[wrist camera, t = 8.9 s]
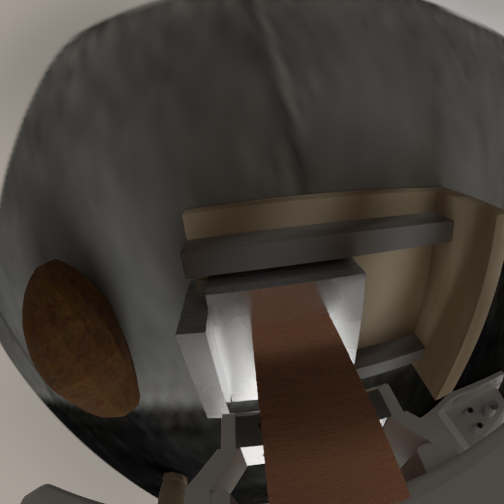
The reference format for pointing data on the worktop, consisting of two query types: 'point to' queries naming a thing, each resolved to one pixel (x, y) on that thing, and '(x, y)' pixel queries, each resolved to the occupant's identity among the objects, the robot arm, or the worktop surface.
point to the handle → (173, 488)
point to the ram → (294, 377)
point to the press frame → (374, 265)
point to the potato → (78, 341)
